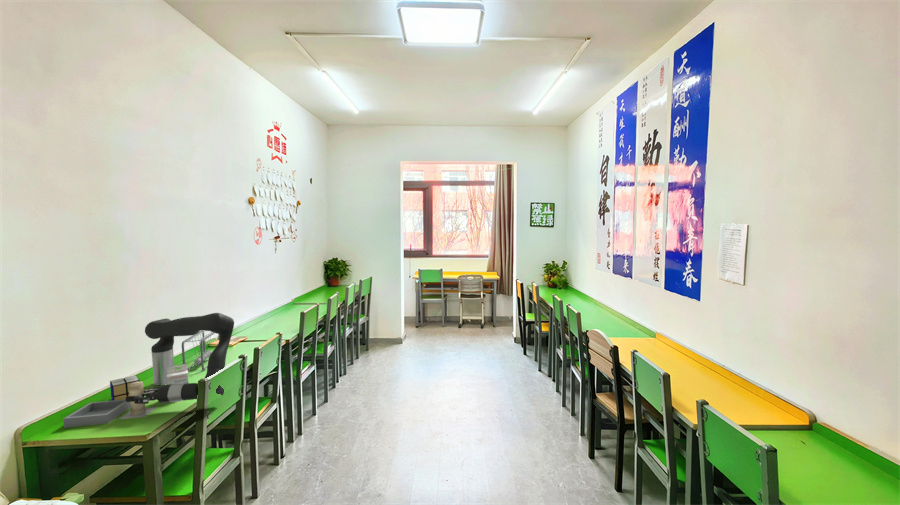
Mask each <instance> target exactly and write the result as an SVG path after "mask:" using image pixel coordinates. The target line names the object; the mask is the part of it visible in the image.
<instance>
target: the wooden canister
mask: <svg viewBox="0 0 900 505" xmlns="http://www.w3.org/2000/svg"><path fill="white" fill-rule="evenodd" d="M144 390H145V388H144V382H143V381H142V380H141V381H140V382H134V383H131V384H129V396H137V395H142V394H143V393H144ZM145 408H146V404H135V403H134V401H133V402H130V408H129V410H130V411H131V415H132V416H135V415H140V414H143V413H144V412H145Z"/></svg>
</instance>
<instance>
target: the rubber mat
mask: <svg viewBox="0 0 900 505" xmlns="http://www.w3.org/2000/svg"><path fill="white" fill-rule="evenodd" d="M157 408H158V407H157V406H153V407H145V412H144V413H143V414H140V415H135V416H132V415H131V410H129V411H128V412H126V413H125V414H123V415H122V416H121V417H120V418H118V419H117V420H125V419H126V420H127V419H139V418H145V417H147V416H148V415H149V414H150V413H152V412H153V411H154V410H156V409H157Z"/></svg>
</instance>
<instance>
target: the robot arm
mask: <svg viewBox="0 0 900 505" xmlns="http://www.w3.org/2000/svg"><path fill="white" fill-rule="evenodd" d="M234 327H235V321H234V318H232V317H230V316H228V315H226V314H223V313H221V312H213V313H208V314H205V315H197V316H185V317H180V318H176V319H170V318H162V319H157V320H152V321H150V322H148V323H147V324H146V325H145V327H144V328H145V329H144V334H145V336H147V337H148V338H150V339H151V340H156V339H157V340H158V339H159V340H158V341H156V343H155V344H153V345H152V346H151V349H150V350H151V361H152V362H151V363H152V374H153V376H152V377H153V385H154V386H152V387H148V388H147V389H144V393H143V394H142V395H137V396H127V397H126V398H125V399H126V402H133V401H134V403H135V404H145V405H146V404H147V405H148V404H149V403H150V402H154V401H156V400H157V401H158V403H160V404H164V403H175V402H176V403H177V402H182V401H192V400H198V399H197V395H198V384H199V383H198V382H190V383H188V384H168V385H165V384H167V367H172V366H175V356H174V355H175V354H174V345H175V337H188V336H189V337H191V336H193V335H195V334H197V333H198V332H199V331H201V330H203V331H204V330H207V331H206V332H210V333H211V332H212V333H213V332H214V334H217V335H218V343H217V345H216V347H214V349H213V351H212V353H211V355H210V356H209V357H208V359H207V365H208V366H207V365H206V366H207V369H206V373H205V376H204V379H205V378H207V377H209V376H211V375H213V374H215V373H216V372H218V371H219V370H221V369H223V368H224V367H225V368H226V359H227V354H228V349H229V346H230V343H231V338H232V335H233V333H234V332H233V331H234ZM174 370H176V368H174ZM156 385H161V386H156ZM216 393H217V394H221V395H222V396H224V393H225V392H224V389H223V388H222V387H221V386H220V385H219V386H218V388H217V389H216ZM149 401H150V402H149Z"/></svg>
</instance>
